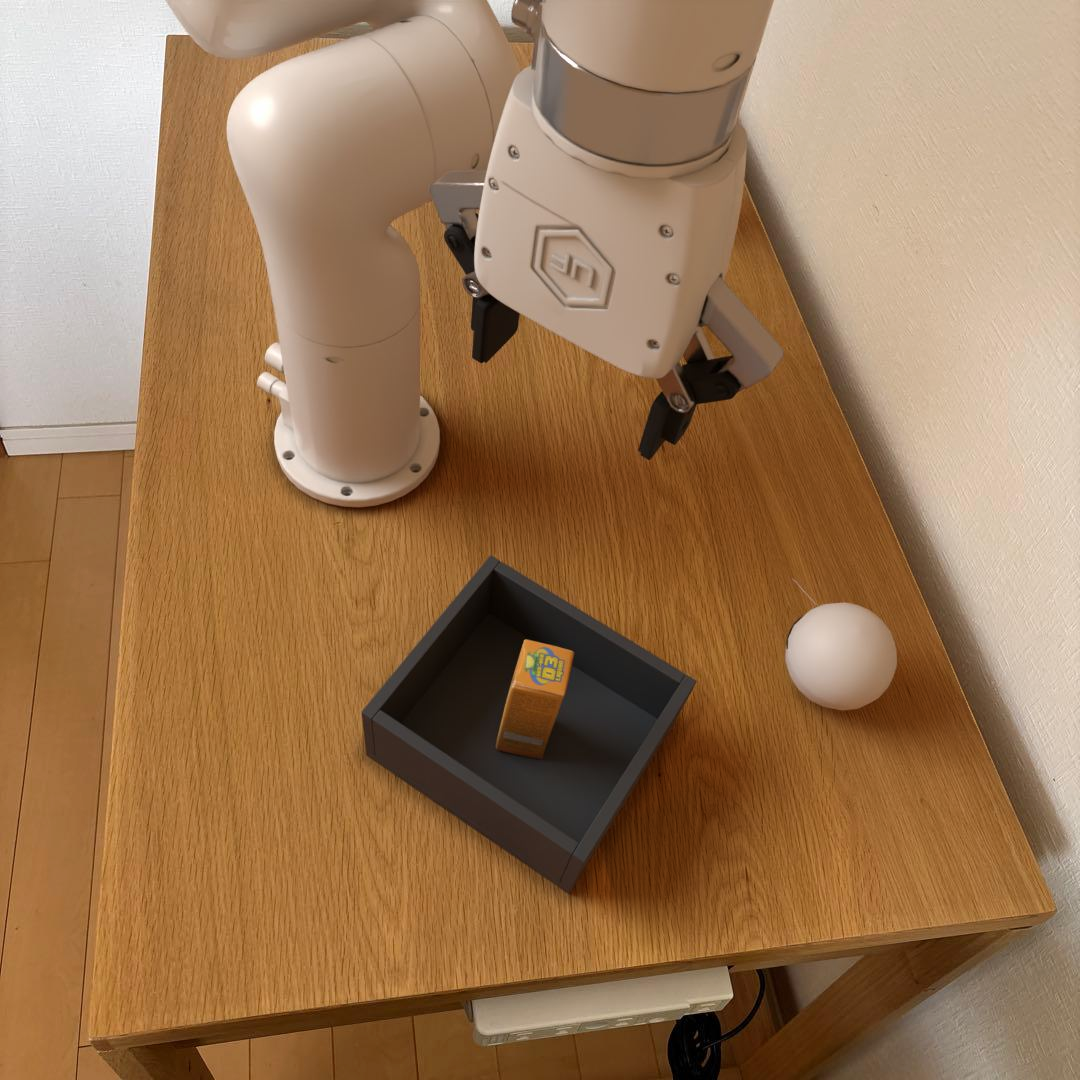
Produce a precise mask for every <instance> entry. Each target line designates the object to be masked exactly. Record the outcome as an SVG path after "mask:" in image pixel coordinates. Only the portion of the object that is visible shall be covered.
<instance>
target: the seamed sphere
mask: <svg viewBox="0 0 1080 1080" xmlns="http://www.w3.org/2000/svg"><path fill="white" fill-rule="evenodd" d="M791 580H793V581H794V582H795V584H796V585H797V586H798V587H799V588H800V590H802V591H803V593H804V594H806V596H807V597H808V598H809V599H810V600H811V601H812V603H813V604H814V605H815V606H816V605H817V603H816V602H815V601H814V600H813V599H812V597H811V596H809V594H808V593H807V592H806V591H805V590H804V589H803V588H802V587H801V585H800V584H799V583H798V582H797V580H795V579H794V578H791ZM785 644H786V645H785V652H784V653H785V654H784V660H785V661H784V662H785V666H786V668H787V671H788V675H789V677H790V680H791V681H792V683H793V684H794V685H795V687H796V689H797V690H798V691H799V692H800V693H801V694H802V695H803V696H804V697H805V698H806V699H807V700H808V701H810V702H812V703H814V704H817V705H818V706H820V707H823V708H826V709H832V710H837V711H851V710H852V711H853V710H858V709H860V708H862V707H865V706H867V705H868V704H871V703H873V702H875V701H876V700H877V699H880V697H881V696H882V695H883V694H884V693H885V692H886V691H887V690H888V688H889V687H890V685H891V683H892V681H893V679H894V675H895V673H896V669H897V667H898V655H897V652H898V651H897V646H896V642H895V640H894V637H893V635H892V631H891V630H890V629H889V627H888V626H887V625H886V623H885V622H884V621H883V619H882V618H880V617H879V616H878V615H876V613H874V612H873V611H872V610H870V609H867V608H865V607H864V606H861V605H859V604H856V603H851V602H846V601H845V602H832V603H823V604H821V605H818V606H816V607H814V608H811V609H810V610H808V611H807V612H806V613H805V614H803V615H802V616H800V617H798V619H797V620H796V621H795V622H794V623H793V625H792V626H791V628H790V629H789V631H788V635H787V638H786V643H785Z"/></svg>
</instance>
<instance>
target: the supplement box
mask: <svg viewBox="0 0 1080 1080" xmlns="http://www.w3.org/2000/svg"><path fill="white" fill-rule="evenodd" d="M573 657H574V652H573V651H571V650H567V649H564V648H560V647H556V646H552V645H548V644H544V643H540V642H535V641H531V640H527V639H525V640H524V643H523V645H522V648H521V652H520V655H519V658H518V662H517V665H516V669H515V672H514V675H513V679H512V682H511V686H510V689H509V693H508V696H507V700H506V704H505V708H504V712H503V716H502V720H501V724H500V729H499V733H498V737H497V742H496V750H499V751H503V752H508V753H512V754H517V755H521V756H526V757H531V758H536V759H542V758H543V754H544V751H545V748H546V745H547V742H548V739H549V736H550V734H551V731H552V728H553V725H554V722H555V720H556V717H557V714H558V711H559V708H560V705H561V703H562V700H563V697H564V696H565V693H566V689H567V685H568V680H569V675H570V671H571V666H572V661H573Z"/></svg>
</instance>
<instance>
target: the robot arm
mask: <svg viewBox="0 0 1080 1080" xmlns="http://www.w3.org/2000/svg"><path fill="white" fill-rule="evenodd" d="M774 1H775V0H514V1H513V3H512V7H511V14H510V18H511V22H512V24H513V25H515V26H517V27H519V28H521V29H523V30H525V31H526V34H527V35H528V36H529V37H530V38H532V40H533V48H532V57H531V64H530V65H528V66H527V67H525V68H524V69H522V70H521V67H520V65H519V63H518V62H519V61H518V59H517V57H516V55H515V53H514V50H513V48H512V46H511V44H510V42H509V40H508V38H507V36H506V34H505V32H504V30H503V27H502V26H501V24H500V22H499V20H498V18H497V17H496V14H495V12H494V10H493V9H492V7H491V5H490V3H489V1H488V0H165V2H166V4H167V5H168V7H169V9H170V10H171V11H172V14H173V15H174V17H175V18H176V19H177V20H178V22H179V24H180V25H181V27H182V28H183V29H184V31H185V32H186V33H187V34H188V36H189V37H190V38H191V39H192V40H193V41H194V42H195V44H196V45H198V46H199V47H200V48H201V49H202V50H204V52H206V53H208V54H210V55H212V56H213V57H216V58H218V59H221V60H222V59H223V60H229V61H230V60H232V61H233V60H245V59H251V58H255V57H261V56H264V55H268V54H271V53H274V52H278V51H281V50H284V49H287V48H290V47H293V46H296V45H300V44H302V43H305V42H308V41H311V40H314V39H318V38H319V37H322V36H325V35H328V34H332V33H334V32H337V31H340V30H343V29H346V28H348V27H352V26H354V25H358V24H361V23H366V24H368V25H369V26H370V27H371V28H372V29H373V30H372V31H368V32H365V33H363V34H359V35H353V36H351V37H348V38H346V39H342V40H339V41H337V42H334V43H331V44H327V45H325V46H323V47H319V48H317V49H314V50H312V51H308V52H306V53H303V54H300V55H297V56H294V57H292V58H290V59H287V60H285V61H282V62H280V63H278V64H276V65H274V66H272V67H271V68H269V69H266V70H264V71H263V72H262V73H260V74H258V75H257V76H256V77H254V78H253V79H251V81H250V82H248V83H247V84H246V85H245V86H244V87H243V88H242V89H241V90H240V91H239V93H238V94H237V95H236V97H235V98H234V100H233V102H232V103H231V106H230V108H229V112H228V115H227V120H226V140H227V145H228V151H229V154H230V157H231V161H232V164H233V168H234V170H235V174H236V176H237V178H238V181H239V183H240V187H241V189H242V192H243V194H244V197H245V200H246V201H247V204H248V207H249V210H250V212H251V215H252V219H253V221H254V224H255V227H256V230H257V233H258V236H259V240H260V241H259V242H260V245H261V249H262V252H263V253H262V254H263V257H264V262H265V267H266V270H267V271H266V272H267V277H268V283H269V289H270V295H271V301H272V302H271V303H272V306H273V311H274V317H275V323H276V331H277V336H278V341H277V342H273V343H272V344H270V345H269V347H268V348H267V350H266V351H265V354H264V362H265V364H266V365H267V366H269V367H271V368H273V369H275V370H276V371H278V372H280V373H281V374H283V375H284V380H285V382H284V381H282V380H281V379H280V378H279V377H277V376H275V374H272V373H271V372H268V371H263V372H262V373H261V374H260V375H259V377H258V378H257V381H256V386H257V387H258V388H259V389H260V390H262V391H264V392H266V393H267V394H268V395H271V396H274V397H275V398H277V399H278V402H279V404H280V410H281V411H280V413H279V415H278V417H277V419H276V424H275V427H274V432H273V434H274V435H273V436H274V437H273V438H274V439H273V441H274V442H273V445H274V449H275V455H276V459H277V461H278V463H279V466H280V468H281V471H282V472H283V473H284V475H285V476H286V478H287V479H288V480H289V481H290V482H291V483H292V484H293V485H294V486H295V487H296V489H298V490H299V491H301V492H302V493H304V494H306V495H307V496H309V497H310V498H312V499H314V500H318V501H320V502H322V503H325V504H329V505H334V506H337V507H338V506H339V507H345V508H366V507H376V506H379V505H383V504H387V503H390V502H393V501H395V500H397V499H400V498H402V497H404V496H406V495H407V494H409V493H410V492H412V491H414V490H415V489H416V488H418V487H419V486H420V485H421V484H422V483H423V482H424V481H425V480H426V478H427V477H428V476H429V474H430V473H431V472H432V470H433V468H434V467H435V464H436V462H437V459H438V457H439V451H440V444H441V437H440V436H441V434H440V426H439V421H438V418H437V416H436V413H435V411H434V410H433V408H432V406H431V405H430V404H429V402H428V401H427V400H426V398H425V397H424V396H422V395H421V277H420V268H419V264H418V261H417V258H416V255H415V253H414V251H413V249H412V247H411V246H410V244H409V243H408V241H407V240H406V239H405V237H404V236H403V235H402V234H401V233H400V232H399V231H398V230H397V229H396V227H394V226H393V225H392V223H393V222H394V221H395V220H397V219H399V218H400V217H402V216H404V215H406V214H407V213H410V212H412V211H414V210H417V209H419V208H421V207H422V206H425V204H427V203H430V202H432V201H433V204H434V207H435V209H436V211H437V214H438V217H439V220H440V222H441V224H444V226H445V229H446V230H445V231H444V232H443V239H444V242H445V244H446V245H447V247H448V249H449V250H450V252H451V253H452V255H453V256H454V258H455V260H456V262H458V264H459V266H460V267H461V269H462V271H463V272H464V274H465V275H464V276H463V277H462V280H461V284H462V287H463V289H464V291H465V292H466V293H467V294H468V295H469V296H470V297H472V302H471V303H472V304H471V319H470V330H471V331H473V335H472V336H473V338H472V349H471V359H472V360H475V361H476V362H477V363H480V364H483V363H485V364H487V363H488V362H489V361H490V360H492V358H493V357H494V356H495V355H496V354H497V353H498V352H499V351H500V350H501V349H502V348H503V347H504V346H505V345H506V344H507V343H508V341H510V340H511V339H512V338H513V336H514V335H515V334H516V333H517V332H518V330H519V329H518V328H519V324H520V323H519V322H520V315H522V316H524V317H525V318H527V319H529V320H531V321H533V322H534V323H536V324H538V325H539V326H541V327H543V328H544V329H546V330H548V331H550V332H552V333H554V334H555V335H557V336H559V337H560V338H563V339H564V340H566V341H568V342H570V343H571V344H573V345H575V346H576V347H578V348H581V349H582V350H584V351H586V352H588V353H589V354H591V355H593V356H595V357H597V358H599V359H601V360H603V361H604V362H606V363H608V364H610V365H612V366H614V367H616V368H618V369H620V370H621V371H624V372H626V373H629V374H631V375H633V376H636V377H640V378H645V379H652V380H656V382H657V383H658V386H659V388H660V389H661V391H660V392H659V394H658V395H657V396H656V398H655V399H654V400H653V402H652V404H651V406H650V410H649V413H648V416H647V420H646V422H645V425H644V429H643V431H642V436H641V439H640V442H639V445H638V448H637V451H638V452H640V453H639V456H641V457H642V458H644V459H646V460H647V461H651V460H652V458H653V457H654V456H655V455H656V454H657V452H658V451H659V450H660V448H662V446H663V445H664V443H665V442H668V443H669V444H672V445H673V446H676V445H677V444H678V443H679V441H681V439H682V438H683V436H684V435H685V433H687V430H688V428H689V426H690V424H691V421H692V419H693V416H694V414H695V411H696V408H697V405H702V404H709V403H716V402H724V401H730V400H732V399H734V397H735V396H736V395H737V394H738V393H739V392H742V391H743V390H747V389H749V388H751V387H752V386H755V385H756V384H759V382H762V381H764V380H765V379H767V378H769V377H770V376H771V375H772V373H773V372H774V371H775V369H776V368H777V366H778V365H780V364H779V363H781V361H782V360H783V358H784V356H785V350H784V349H783V347H782V345H780V343H779V342H778V341H777V339H775V338H774V336H773V335H772V334H771V332H769V330H768V329H767V328H766V327H765V326H764V325H763V324H762V323H761V321H760V320H759V319H758V318H757V317H756V316H755V314H754V313H753V312H752V311H751V310H750V309H749V308H748V306H746V305H745V303H744V302H743V301H742V300H741V299H740V297H739V296H738V295H737V294H736V293H735V292H734V291H733V290H732V288H731V287H730V286H729V285H728V284H727V283H726V282H725V280H726V277H727V274H728V273H727V272H728V269H729V266H730V262H731V257H732V253H733V250H734V245H735V240H736V235H737V231H738V225H739V220H740V215H741V214H740V213H741V209H742V203H743V194H744V187H745V178H746V165H747V149H748V134H747V131H746V129H745V127H743V126H742V125H741V124H739V123H738V119H739V116H740V113H741V110H742V106H743V102H744V99H745V96H746V93H747V90H748V86H749V83H750V80H751V77H752V73H753V70H754V67H755V63H756V60H757V57H758V53H759V50H760V47H761V44H762V41H763V37H764V33H765V30H766V27H767V24H768V21H769V18H770V15H771V12H772V8H773V5H774ZM477 210H479V212H478V213H477ZM703 327H707V328H708V330H710V332H711V333H712V334H713V335H714V336H715V338H716V339H717V340H718V341H719V342H720V343H721V344H722V345H723V346H724V348H725V349H726V350H727V351H728V352H729V353H730V355H727V356H722V357H715V355H714V352H713V350H712V348H711V346H710V344H709V341H708V340H707V337H706V334H705V332H704V330H703V329H702V328H703ZM682 357H683V359H684V361H685V363H684V364H683V365H682V363H681V362H680V360H681V359H682Z"/></svg>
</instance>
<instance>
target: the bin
mask: <svg viewBox="0 0 1080 1080" xmlns="http://www.w3.org/2000/svg"><path fill="white" fill-rule="evenodd" d="M525 639H527V640H531V641H535V642H540V643H544V644H548V645H552V646H556V647H560V648H564V649H567V650H571V651H573V652H574V657H573V661H572V666H571V671H570V675H569V680H568V685H567V689H566V693H565V696H564V697H563V700H562V703H561V705H560V708H559V711H558V714H557V717H556V720H555V722H554V725H553V728H552V731H551V734H550V736H549V739H548V742H547V745H546V748H545V751H544V754H543V758H542V759H536V758H531V757H526V756H521V755H517V754H512V753H508V752H503V751H499V750H496V742H497V737H498V733H499V729H500V724H501V720H502V716H503V712H504V708H505V704H506V700H507V696H508V693H509V689H510V686H511V682H512V679H513V675H514V672H515V669H516V665H517V662H518V658H519V655H520V652H521V648H522V645H523V643H524V640H525ZM697 682H698V681H697V680H696V679H695V678H693V677H692V676H690V675H688V674H686V673H685V672H684V671H682V670H680V669H679V668H677V667H675V666H673V665H671V664H670V663H669V662H668V661H665V660H663V659H662V658H660V657H659V656H657V655H655V654H653V652H651V651H649V650H647V649H645V648H644V647H642V646H641V645H639V644H638V643H636V642H634V641H633V640H631V639H629V638H628V637H626V636H624V635H623V634H621V633H620V632H617V631H616V630H614V629H613V628H611V627H609V626H608V625H606V624H605V623H604V622H601V621H600V620H598V619H596V618H595V617H593V616H592V615H589V614H588V613H587V612H585V611H583V610H581V609H580V608H578V607H576V606H575V605H573V604H572V603H570V602H568V601H566V600H565V599H564V598H562V597H561V596H559V595H557V594H555V593H553V592H552V591H550V590H548V589H547V588H545V587H544V586H542V584H541V585H540V584H539V583H537V582H535V581H534V580H532V579H531V578H529V577H527V576H526V575H524V574H523V573H521V572H519V571H518V570H516V569H514V568H513V567H511V566H509V565H507V564H506V563H504V562H503V561H501V560H500V559H499V558H496V557H495V556H493V555H492V554H491V555H489V556H488V557H487V559H486V560H485V561H484V562H483V563H482V565H481V566H480V567H479V568H478V569H477V571H476V572H475V573H474V575H472V577H471V578H470V579H469V580H468V582H467V583H466V584H465V585H464V586H463V588H462V589H461V590H460V591H459V593H458V594H457V595H456V596H455V598H453V600H452V601H451V602H450V603H449V604H448V606H447V607H446V608H445V610H444V611H443V612H442V613H441V615H440V616H439V617H438V618H437V619H436V620H435V622H434V623H433V624H432V625H431V626H430V627H429V629H428V630H427V632H426V633H425V634H424V635H423V636H422V637H421V638H420V640H419V641H418V642H417V644H416V645H415V646H414V647H413V648H412V650H410V652H409V653H408V655H406V657H405V658H404V659H403V660H402V662H401V663H400V664H399V665H398V666H397V668H396V669H394V671H393V672H392V674H391V675H390V676H389V677H388V678H387V680H386V681H385V682H384V684H383V685H382V686H381V687H380V688H379V689H378V691H377V692H376V693H375V695H374V696H373V697H372V698H371V700H370V701H369V702H368V703H367V704H366V705H365V707H363V709H362V710H361V712H360V714H361V721H362V729H363V730H362V731H363V739H364V747H365V756H366V757H368V758H370V759H371V760H372V761H374V762H375V763H377V764H378V765H379V766H381V767H383V768H384V769H385V770H387V771H389V772H390V773H391V774H393V775H395V777H397V778H398V779H400V780H401V781H403V782H405V783H406V784H408V785H409V786H410V787H412V789H415V790H416V791H417V792H419V793H421V794H422V795H423V796H425V797H426V798H427V799H429V800H431V801H432V802H433V803H435V804H437V805H438V806H439V807H441V808H443V810H445V811H447V812H448V813H450V814H451V815H453V816H454V817H455V818H457V819H458V820H460V821H461V822H463V823H464V824H465V825H467V826H468V827H470V828H472V829H473V830H475V831H476V832H477V833H478V834H480V835H481V836H483V837H485V838H486V839H488V840H489V841H490V842H492V843H493V844H495V845H497V846H498V847H499V848H501V849H502V850H504V851H505V852H507V853H508V854H510V855H511V856H512V857H514V858H515V859H516V860H518V861H519V862H521V863H523V864H524V865H526V866H527V867H528V868H529V869H531V870H533V871H534V872H536V873H537V874H539V875H540V876H541V877H543V878H545V879H546V880H547V881H549V882H550V883H552V884H554V885H555V886H556V887H558V888H559V889H560V890H562V891H563V892H565V893H566V894H571V892H572V891H573V889H574V887H575V885H576V884H577V882H578V881H579V879H580V877H581V876H582V875H583V872H584V871H585V869H586V868H587V866H588V864H589V863H590V861H591V860H592V858H593V856H594V855H595V853H596V851H597V850H598V848H599V847H600V846H601V843H602V842H603V840H604V839H605V837H606V835H607V834H608V832H609V830H610V829H611V827H612V826H613V824H614V822H615V821H616V819H617V818H618V816H619V815H620V813H621V811H622V810H623V808H624V806H625V805H626V803H627V801H628V800H629V798H630V797H631V796H632V793H633V791H634V790H635V788H636V787H637V785H638V783H639V782H640V780H641V779H642V777H643V776H644V774H645V772H646V770H647V769H648V767H649V766H650V764H651V762H652V761H653V759H654V758H655V756H656V754H657V753H658V751H659V749H660V747H661V746H662V745H663V743H664V742H665V740H666V739H667V736H668V735H669V733H670V732H671V730H672V729H673V727H674V726H675V723H676V721H677V719H678V718H679V716H680V714H681V712H682V710H683V708H684V707H685V704H686V703H687V701H688V699H689V697H690V696H691V693H692V692H693V690H694V688H695V686H696V685H697Z"/></svg>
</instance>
